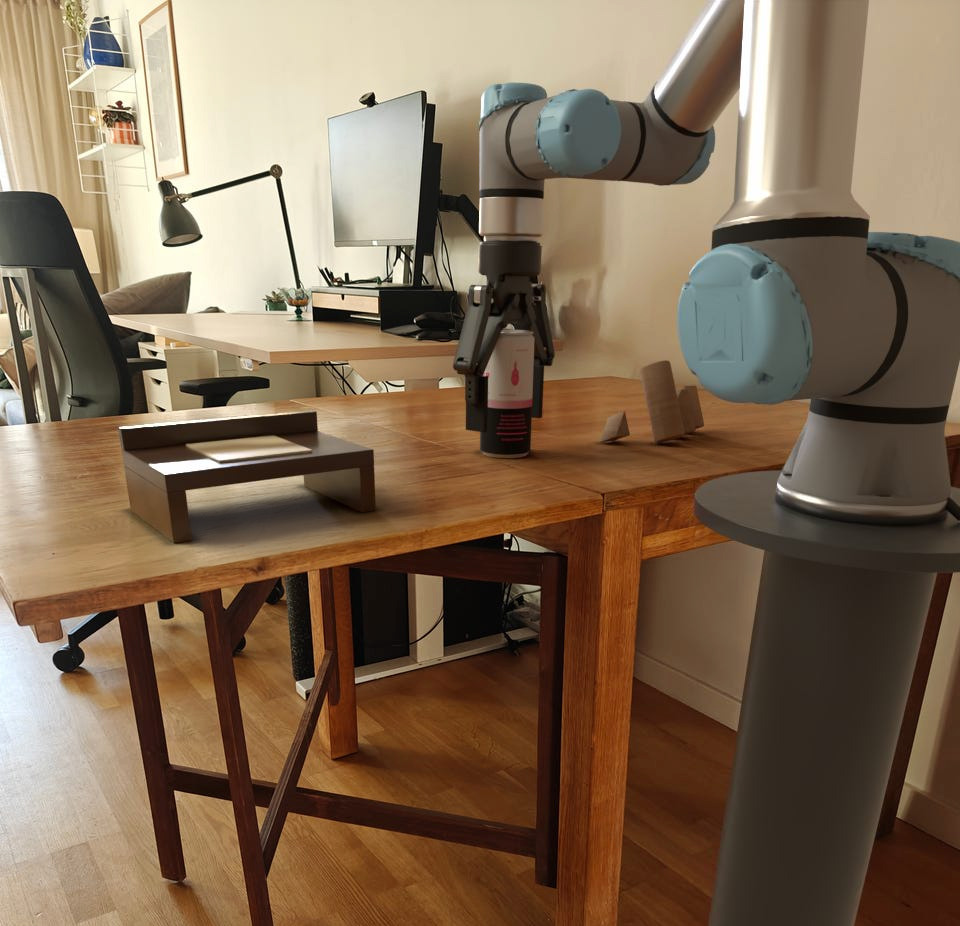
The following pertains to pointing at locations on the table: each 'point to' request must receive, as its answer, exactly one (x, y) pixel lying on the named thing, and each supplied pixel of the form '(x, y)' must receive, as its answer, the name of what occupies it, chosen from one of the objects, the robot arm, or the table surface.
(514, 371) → the beverage can
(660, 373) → the wooden block set
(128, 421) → the table surface
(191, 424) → the shelf
